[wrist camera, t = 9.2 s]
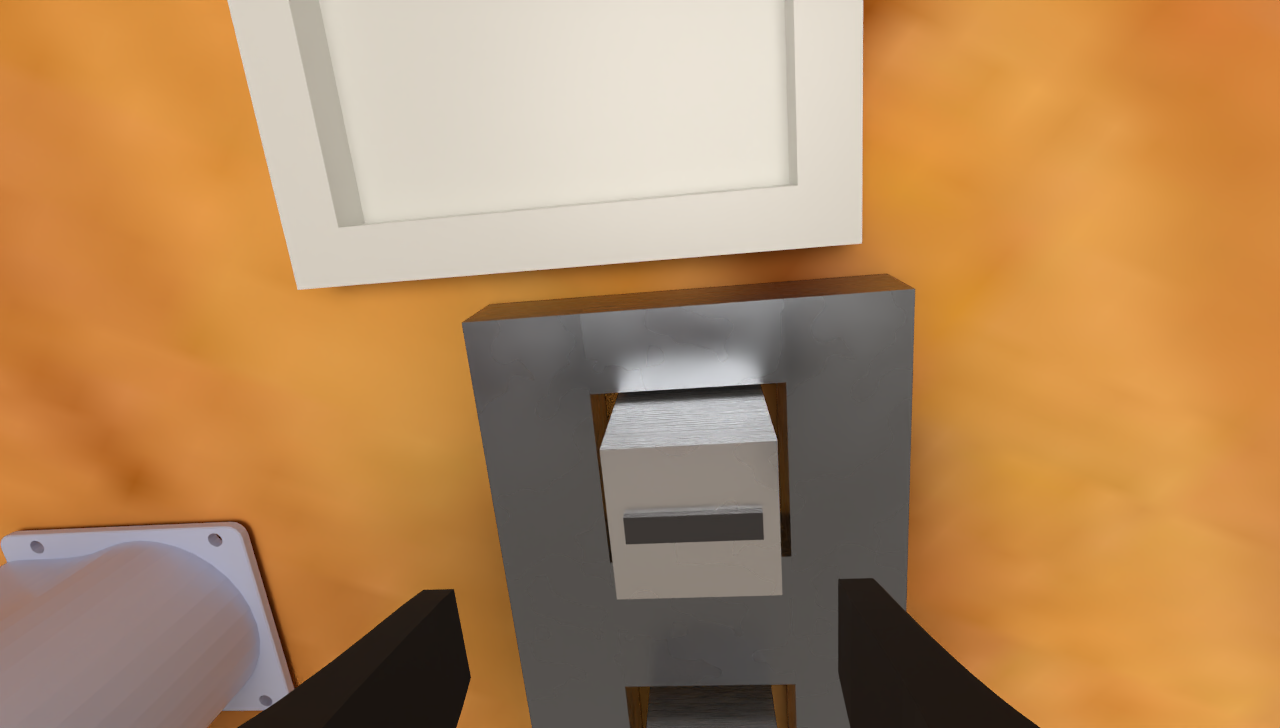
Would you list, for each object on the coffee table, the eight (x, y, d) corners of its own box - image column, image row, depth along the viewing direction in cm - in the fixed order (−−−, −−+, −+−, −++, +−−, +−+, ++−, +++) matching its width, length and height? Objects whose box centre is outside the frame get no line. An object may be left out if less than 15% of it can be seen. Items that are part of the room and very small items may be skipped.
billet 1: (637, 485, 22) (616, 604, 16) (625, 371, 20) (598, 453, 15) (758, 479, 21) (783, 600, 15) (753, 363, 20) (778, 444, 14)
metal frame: (568, 797, 26) (555, 861, 23) (489, 304, 20) (461, 322, 18) (879, 798, 25) (899, 867, 22) (887, 273, 19) (914, 288, 17)
